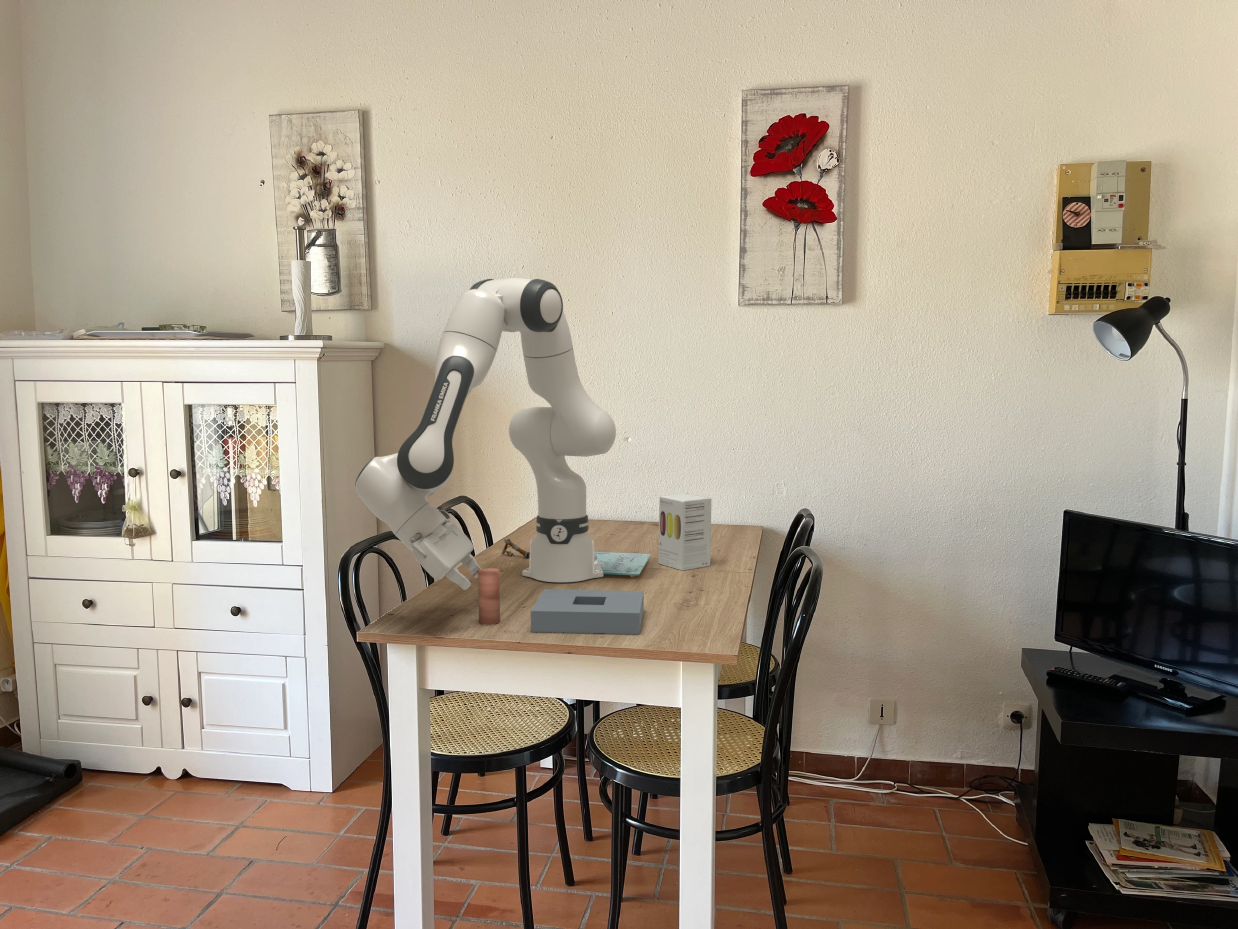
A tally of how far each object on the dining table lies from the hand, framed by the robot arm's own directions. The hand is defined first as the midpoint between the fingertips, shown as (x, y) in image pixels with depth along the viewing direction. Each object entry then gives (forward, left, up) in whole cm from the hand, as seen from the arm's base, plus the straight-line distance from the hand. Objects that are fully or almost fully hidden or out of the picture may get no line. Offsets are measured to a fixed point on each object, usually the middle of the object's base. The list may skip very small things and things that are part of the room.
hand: (475, 581), depth 175 cm
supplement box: (-52, +40, -8) cm, 66 cm away
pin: (0, +3, -8) cm, 8 cm away
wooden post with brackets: (-58, -3, -8) cm, 59 cm away
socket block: (-2, +22, -8) cm, 23 cm away
